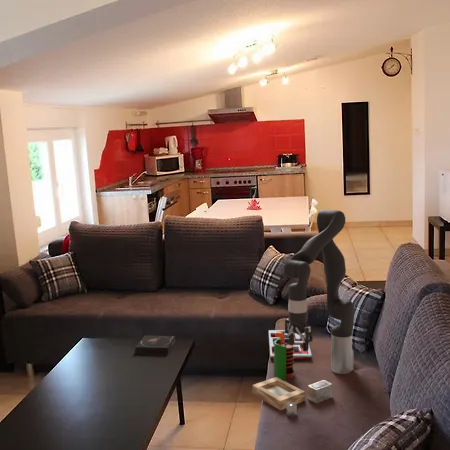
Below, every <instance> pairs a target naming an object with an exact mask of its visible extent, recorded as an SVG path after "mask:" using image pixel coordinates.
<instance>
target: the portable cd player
mask: <svg viewBox="0 0 450 450" xmlns="http://www.w3.org/2000/svg"><path fill="white" fill-rule="evenodd" d="M175 344H176V336H175V335H144V336H143V337H142V338H141V340H139V342H138V343H137V344H136V346H135V348H134V353H135V355H162V356H163V355H164V356H168V355H169V354H170V352H171V351H172V349H173V348H174V346H175Z"/></svg>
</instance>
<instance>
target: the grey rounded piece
mask: <svg viewBox="0 0 450 450" xmlns="http://www.w3.org/2000/svg"><path fill="white" fill-rule="evenodd" d="M285 409H286V416H287V417H291V418H293V417H296V416H297V415H298V404H296V403H293V402H289V403H287V404H286V408H285Z"/></svg>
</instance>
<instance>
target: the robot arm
mask: <svg viewBox="0 0 450 450" xmlns="http://www.w3.org/2000/svg"><path fill="white" fill-rule="evenodd" d="M345 224H346V215H345V213H344V212H343V211H341V210H337V209H335V210H334V209H320V210H319V211H318V212H317V216H316V225H317V231H318V234H316V235H314V236H312V237H311V238H310V239H308V240H307V241H306V242H305V243H304V244H303V246H302V247H301V248H300V250H299V251H298V252H296V253H295V254H294V255H292V256H291V257H290V258H288V259H287V260H286V261H285V263H284V266H283V274H284V275H285V276H286V277H288V278H293V279H297V280H298V281H297V282H294V283H290V284H289V286H288V304H287V305H288V318H287V319H285V320H284V330H285V333H287V334H288V336H289V345H294V334H295V333H297V334H298V335H299V336H300V338H302V340H303V351H308V349H309V347H310V343H311V342H313V341H314V340H313V339H314V338H313V328H312V326H308V325H307V322H308V300H307V288H308V285H309V284H308V283H309V280H310V279H309V278H310V275H311V272H312V270H311V266H310V265H312V264H313V263H314V262H315V260H316V259H317V257H318V256H319V255H320V253H321V252H322V258H323V259H322V262H323V272H324V276H325V283H326V307H327V308H326V309H327V314H328V315H329V317H330V318H332V319H335V320H339V321H340V324H338V325H336V324H335V325H333V326H332V327H331V331H330V332H331V334H330V337H331V339H330V341H331V345H330V346H331V347H330V348H331V351H330V352H331V353H330V355H331V356H330V364H331V366H330V368H331V369H330V370H331V372H333V373H335V374H338V375H346V374H350V373H352V371H353V370H354V349H353V330H354V324H355V323H354V322H355V305H354V303H353V302H352V301H351V300H347V299H343V298H340V296H339V288H340V286H341V284H342V282H343V280H344V278H345V275H346V272H347V269H346V262H345V261H346V260H345V256H344V255H343V253H342V251H341V249H340V248H339V247H338V246H337V244H336V242H335V241H334V238H336V236H337V235H339V234H340V232H342V230H343V229H344V227H345ZM303 333H305V334H304V335H302V334H303ZM304 337H305V338H306V339H305V338H304Z"/></svg>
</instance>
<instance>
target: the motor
mask: <svg viewBox="0 0 450 450" xmlns="http://www.w3.org/2000/svg"><path fill="white" fill-rule="evenodd" d="M276 337H279V338H280V339H277V340H275V341H274V360H273V361H274V362H273V377H274V378H275V377H277V378H279V379H281V380H283V381H287V380H290V379H292V378H294V377H295V370H294V358H293V354H294V353H293V351H294V349H293V347H294V345H289V338H284V335H283V333H282V332H276Z"/></svg>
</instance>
